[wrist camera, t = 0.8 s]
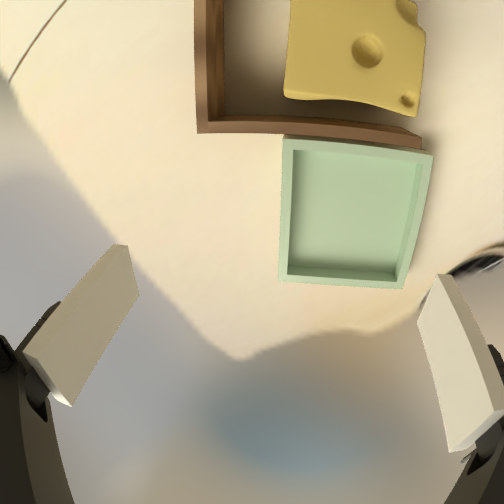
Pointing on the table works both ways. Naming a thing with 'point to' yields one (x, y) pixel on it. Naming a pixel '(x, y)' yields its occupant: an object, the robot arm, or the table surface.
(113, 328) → the robot arm
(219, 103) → the cubby
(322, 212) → the tray
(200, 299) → the table surface
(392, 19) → the cheese
